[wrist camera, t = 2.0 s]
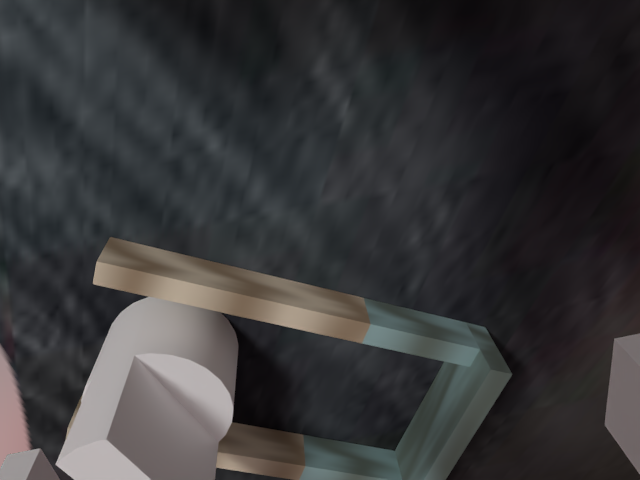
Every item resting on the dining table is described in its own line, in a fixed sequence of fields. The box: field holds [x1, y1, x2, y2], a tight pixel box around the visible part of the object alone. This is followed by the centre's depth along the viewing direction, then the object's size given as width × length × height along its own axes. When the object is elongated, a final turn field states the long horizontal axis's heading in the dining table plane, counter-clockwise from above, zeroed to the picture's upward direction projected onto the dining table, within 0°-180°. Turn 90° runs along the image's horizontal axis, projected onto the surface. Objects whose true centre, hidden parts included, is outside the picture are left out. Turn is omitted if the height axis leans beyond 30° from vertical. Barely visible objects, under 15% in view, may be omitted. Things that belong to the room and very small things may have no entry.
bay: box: [66, 237, 512, 480], centre depth 37 cm, size 27×15×5 cm, turn 71°
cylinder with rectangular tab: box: [56, 297, 239, 480], centre depth 33 cm, size 9×9×12 cm
